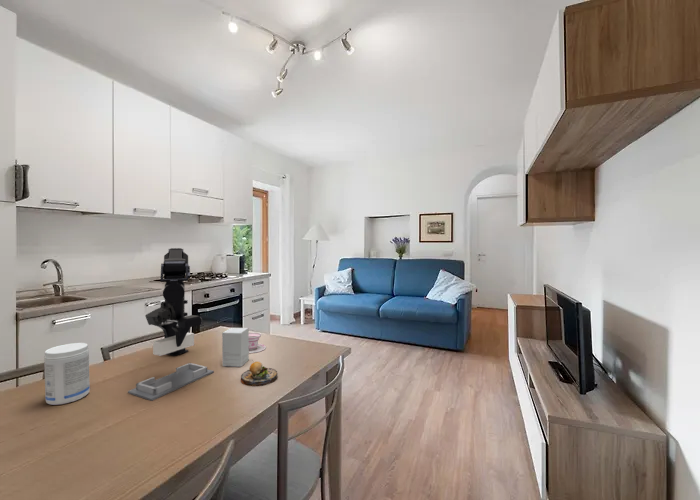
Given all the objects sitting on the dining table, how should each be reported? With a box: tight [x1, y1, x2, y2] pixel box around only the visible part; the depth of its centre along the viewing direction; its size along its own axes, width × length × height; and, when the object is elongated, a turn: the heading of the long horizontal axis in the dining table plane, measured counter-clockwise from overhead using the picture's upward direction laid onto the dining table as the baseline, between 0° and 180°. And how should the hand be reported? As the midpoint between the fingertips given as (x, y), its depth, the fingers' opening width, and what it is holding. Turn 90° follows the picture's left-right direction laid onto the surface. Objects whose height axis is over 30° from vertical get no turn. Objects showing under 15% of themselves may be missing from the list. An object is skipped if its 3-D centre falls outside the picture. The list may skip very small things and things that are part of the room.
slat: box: [152, 332, 195, 357], centre depth 102 cm, size 4×12×4 cm, turn 156°
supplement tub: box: [43, 342, 91, 406], centre depth 90 cm, size 10×10×15 cm
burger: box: [240, 359, 278, 387], centre depth 105 cm, size 12×12×8 cm
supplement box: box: [221, 327, 250, 368], centre depth 118 cm, size 7×7×13 cm
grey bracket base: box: [127, 362, 215, 402], centre depth 101 cm, size 11×22×2 cm, turn 156°
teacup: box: [249, 331, 267, 354], centre depth 134 cm, size 12×12×6 cm
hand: (174, 345), depth 102 cm, fingers closed on slat, 3 cm apart
